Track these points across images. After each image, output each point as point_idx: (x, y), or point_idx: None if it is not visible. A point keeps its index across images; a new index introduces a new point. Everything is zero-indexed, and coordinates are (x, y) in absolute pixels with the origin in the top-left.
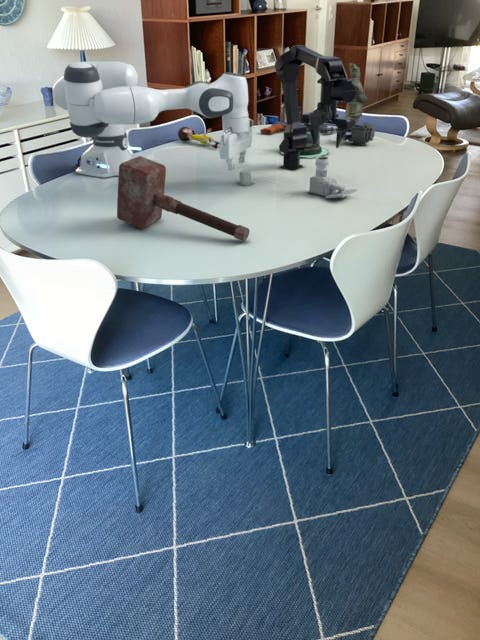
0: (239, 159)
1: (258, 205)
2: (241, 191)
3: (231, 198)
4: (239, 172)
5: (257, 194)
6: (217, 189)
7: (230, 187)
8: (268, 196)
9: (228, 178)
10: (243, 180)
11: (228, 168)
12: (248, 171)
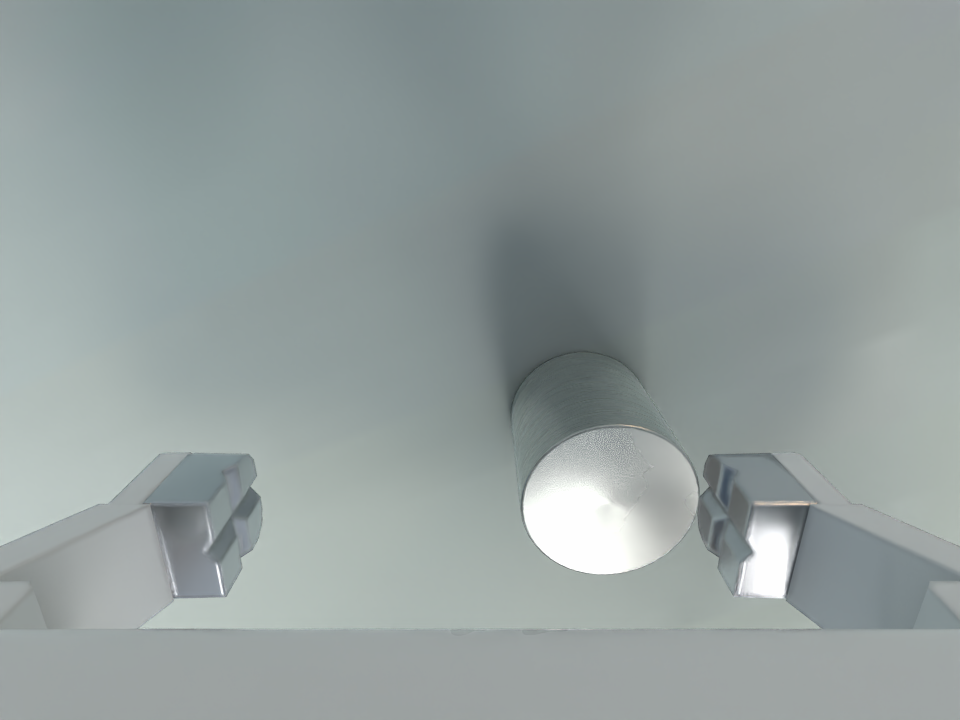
0: (737, 506)
1: None
2: (306, 470)
3: (51, 462)
4: (561, 431)
5: (290, 623)
6: (246, 182)
7: (390, 306)
8: None
9: (772, 111)
10: (514, 448)
11: (153, 472)
12: (599, 550)
